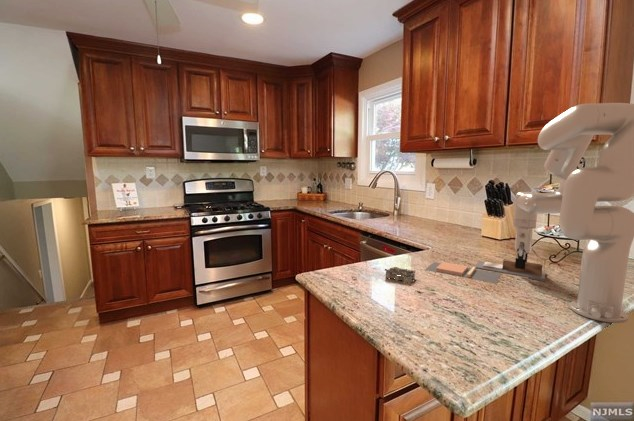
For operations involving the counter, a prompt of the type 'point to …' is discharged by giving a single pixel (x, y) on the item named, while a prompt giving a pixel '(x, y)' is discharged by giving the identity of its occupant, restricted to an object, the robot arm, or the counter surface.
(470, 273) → the tile mat
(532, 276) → the slate board
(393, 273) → the mottled grey block
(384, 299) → the counter surface
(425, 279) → the counter surface
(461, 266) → the tile
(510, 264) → the turner
